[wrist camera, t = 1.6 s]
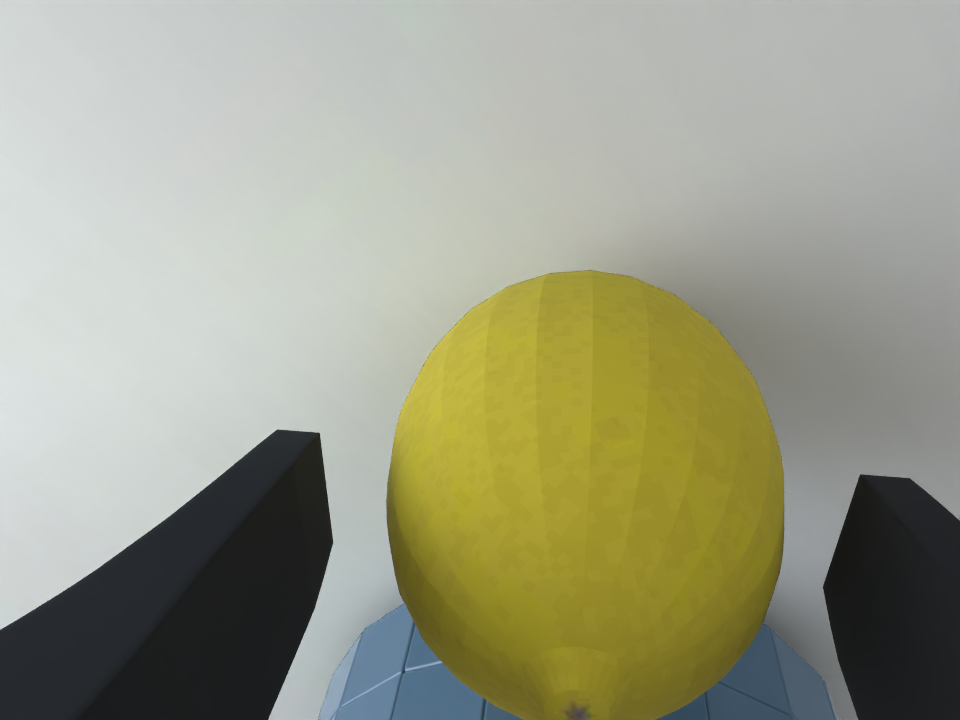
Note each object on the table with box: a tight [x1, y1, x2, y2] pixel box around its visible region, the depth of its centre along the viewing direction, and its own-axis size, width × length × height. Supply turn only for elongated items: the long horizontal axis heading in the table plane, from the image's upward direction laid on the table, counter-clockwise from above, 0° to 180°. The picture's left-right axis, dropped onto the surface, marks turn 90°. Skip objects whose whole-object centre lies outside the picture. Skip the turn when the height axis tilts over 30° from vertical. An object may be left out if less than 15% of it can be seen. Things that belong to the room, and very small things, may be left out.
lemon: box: [386, 270, 784, 720], centre depth 11 cm, size 6×6×8 cm
